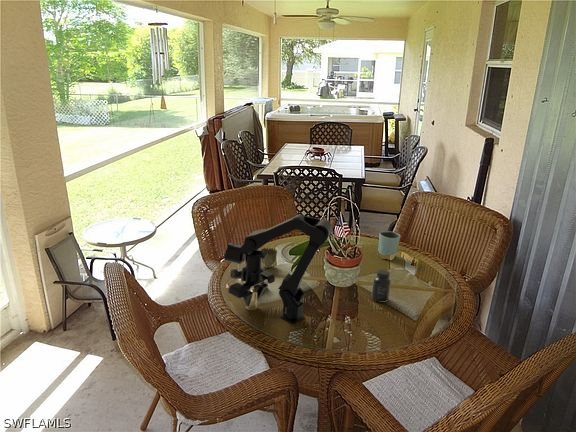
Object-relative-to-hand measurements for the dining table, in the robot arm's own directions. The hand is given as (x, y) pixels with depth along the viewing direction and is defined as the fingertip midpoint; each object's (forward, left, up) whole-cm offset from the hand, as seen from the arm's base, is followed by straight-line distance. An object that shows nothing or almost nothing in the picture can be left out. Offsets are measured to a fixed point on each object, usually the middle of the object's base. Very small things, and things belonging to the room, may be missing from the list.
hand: (251, 303), depth 156 cm
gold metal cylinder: (0, 0, -2) cm, 2 cm away
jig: (+11, -11, -2) cm, 16 cm away
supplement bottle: (-31, -42, -2) cm, 52 cm away
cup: (+19, -30, -2) cm, 36 cm away
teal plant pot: (-13, -83, -2) cm, 84 cm away
